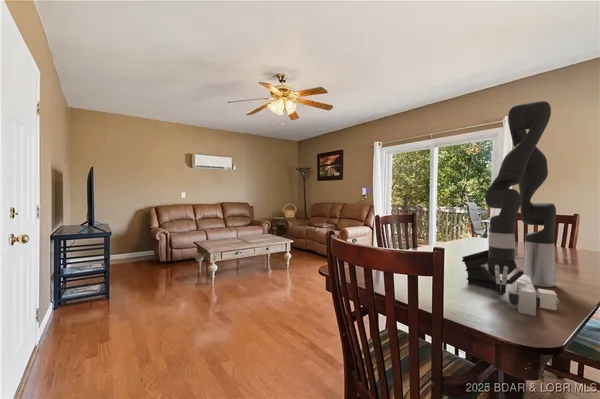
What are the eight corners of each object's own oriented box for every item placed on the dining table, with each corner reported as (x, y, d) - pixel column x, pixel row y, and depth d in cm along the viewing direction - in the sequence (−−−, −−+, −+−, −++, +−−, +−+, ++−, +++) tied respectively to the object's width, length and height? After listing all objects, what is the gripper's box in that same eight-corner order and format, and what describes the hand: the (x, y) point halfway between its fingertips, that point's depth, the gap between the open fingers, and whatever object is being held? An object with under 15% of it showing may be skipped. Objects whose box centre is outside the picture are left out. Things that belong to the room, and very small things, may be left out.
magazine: (506, 289, 103) (487, 250, 108) (472, 294, 113) (456, 258, 118) (511, 287, 105) (492, 248, 110) (476, 292, 115) (461, 257, 120)
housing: (518, 312, 86) (519, 290, 86) (515, 292, 104) (515, 273, 104) (535, 316, 84) (536, 293, 84) (529, 294, 102) (529, 275, 102)
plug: (509, 302, 95) (509, 287, 95) (508, 298, 98) (508, 284, 98) (559, 310, 88) (560, 295, 88) (556, 306, 91) (556, 291, 91)
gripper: (478, 245, 98) (478, 293, 99) (526, 249, 91) (525, 301, 91) (479, 241, 104) (479, 287, 105) (524, 245, 97) (524, 294, 97)
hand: (500, 294), depth 98 cm, fingers closed
